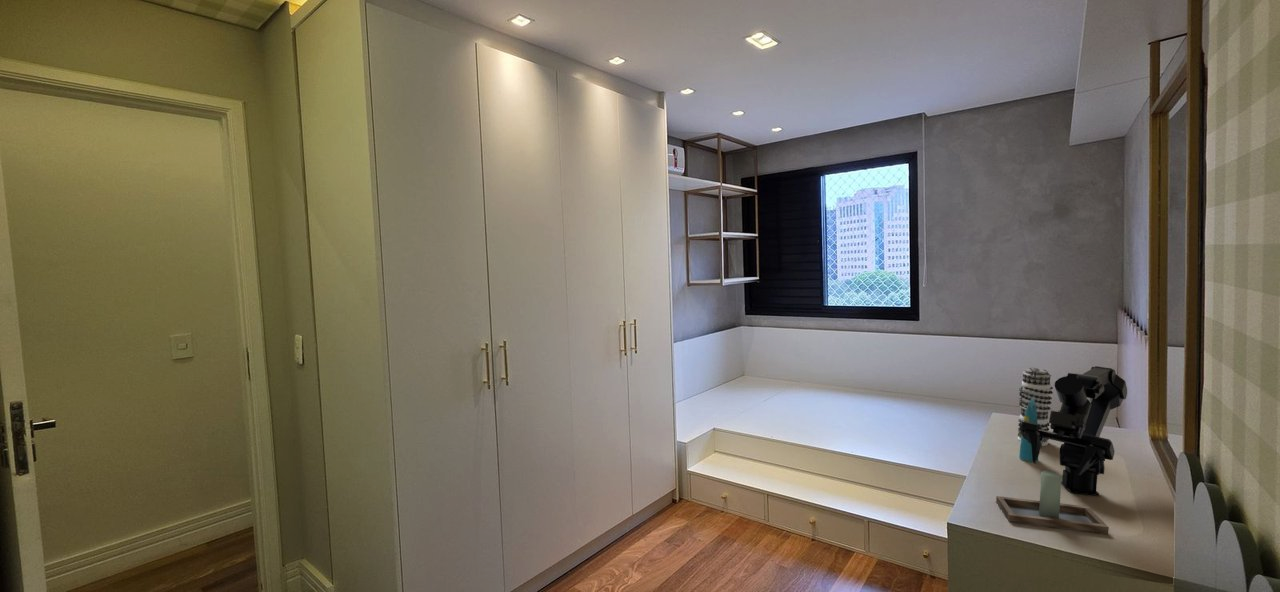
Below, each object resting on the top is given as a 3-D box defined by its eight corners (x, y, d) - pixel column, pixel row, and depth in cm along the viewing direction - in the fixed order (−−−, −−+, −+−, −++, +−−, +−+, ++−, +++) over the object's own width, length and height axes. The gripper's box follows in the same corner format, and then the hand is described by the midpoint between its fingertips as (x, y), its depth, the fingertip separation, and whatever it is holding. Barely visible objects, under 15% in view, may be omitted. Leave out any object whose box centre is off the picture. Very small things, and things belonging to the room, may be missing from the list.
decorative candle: (1056, 446, 181) (1061, 372, 178) (1028, 446, 181) (1032, 373, 178) (1036, 436, 190) (1041, 366, 187) (1010, 436, 190) (1014, 366, 187)
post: (1049, 511, 137) (1051, 470, 136) (1063, 519, 133) (1065, 476, 132) (1034, 513, 137) (1037, 471, 136) (1048, 521, 133) (1051, 478, 132)
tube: (1020, 453, 175) (1023, 395, 173) (1039, 457, 172) (1042, 398, 170) (1017, 461, 169) (1021, 401, 167) (1037, 465, 166) (1040, 404, 164)
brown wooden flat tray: (1087, 513, 137) (1087, 506, 137) (1108, 534, 127) (1108, 527, 127) (996, 502, 143) (996, 495, 143) (1009, 522, 133) (1009, 515, 133)
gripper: (1023, 391, 144) (1005, 441, 139) (1114, 407, 129) (1097, 464, 124) (1033, 413, 150) (1015, 462, 144) (1121, 432, 135) (1105, 487, 129)
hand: (1055, 468), depth 135 cm, fingers open, 9 cm apart
